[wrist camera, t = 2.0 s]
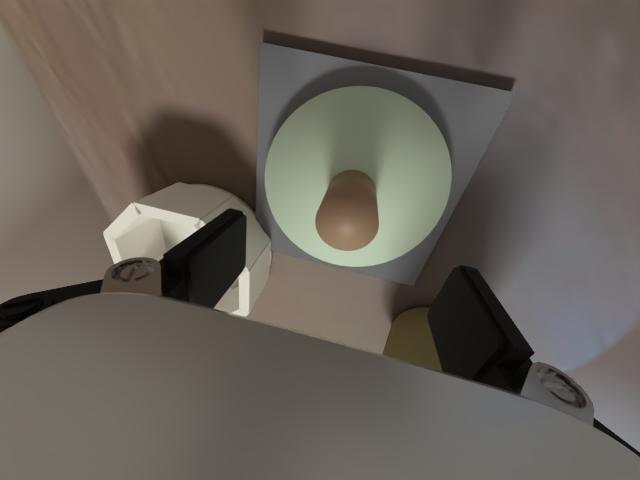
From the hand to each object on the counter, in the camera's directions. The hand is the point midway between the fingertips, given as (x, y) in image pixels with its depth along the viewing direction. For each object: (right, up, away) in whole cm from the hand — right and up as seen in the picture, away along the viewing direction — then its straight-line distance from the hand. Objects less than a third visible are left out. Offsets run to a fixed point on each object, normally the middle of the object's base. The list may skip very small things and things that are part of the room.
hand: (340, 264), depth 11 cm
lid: (+1, +5, +6) cm, 8 cm away
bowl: (-11, +1, +11) cm, 15 cm away
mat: (+1, +5, +6) cm, 8 cm away
